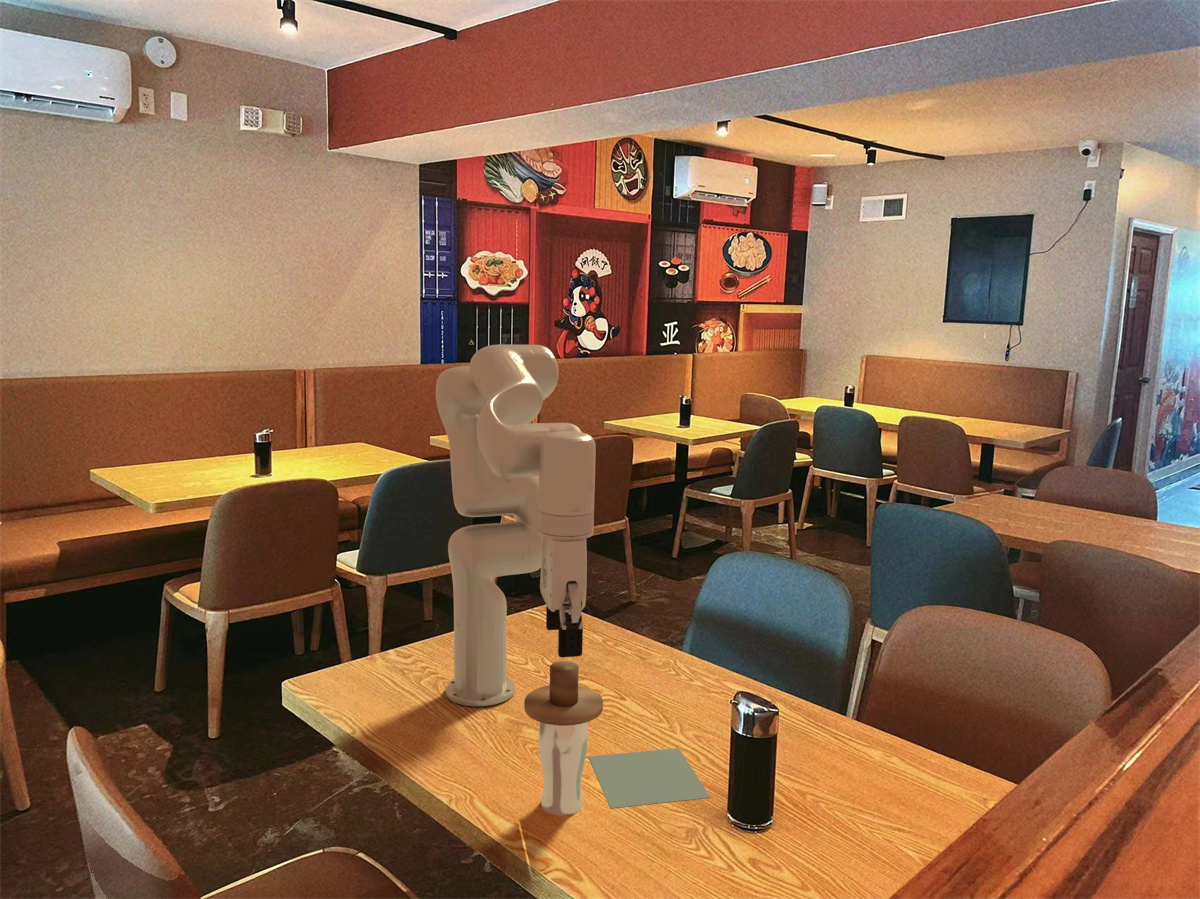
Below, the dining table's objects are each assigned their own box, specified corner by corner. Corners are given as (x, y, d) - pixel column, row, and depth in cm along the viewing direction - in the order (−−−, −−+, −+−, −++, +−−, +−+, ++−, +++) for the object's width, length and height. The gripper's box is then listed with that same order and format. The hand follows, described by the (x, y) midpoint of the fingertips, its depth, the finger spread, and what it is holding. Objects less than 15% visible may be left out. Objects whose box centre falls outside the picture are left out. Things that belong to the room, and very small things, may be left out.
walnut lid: (519, 694, 129) (519, 654, 128) (593, 688, 131) (593, 649, 130) (531, 728, 118) (531, 686, 117) (611, 721, 121) (612, 679, 120)
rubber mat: (588, 758, 141) (588, 756, 141) (678, 750, 144) (678, 747, 144) (610, 810, 126) (610, 808, 126) (710, 800, 130) (710, 797, 130)
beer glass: (580, 822, 123) (582, 721, 121) (532, 816, 125) (532, 715, 122) (591, 796, 130) (593, 699, 128) (544, 790, 131) (546, 694, 129)
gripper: (529, 508, 128) (527, 621, 131) (549, 541, 112) (546, 669, 115) (580, 507, 130) (577, 618, 133) (607, 539, 113) (603, 665, 116)
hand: (563, 642), depth 124 cm, fingers open, 9 cm apart
